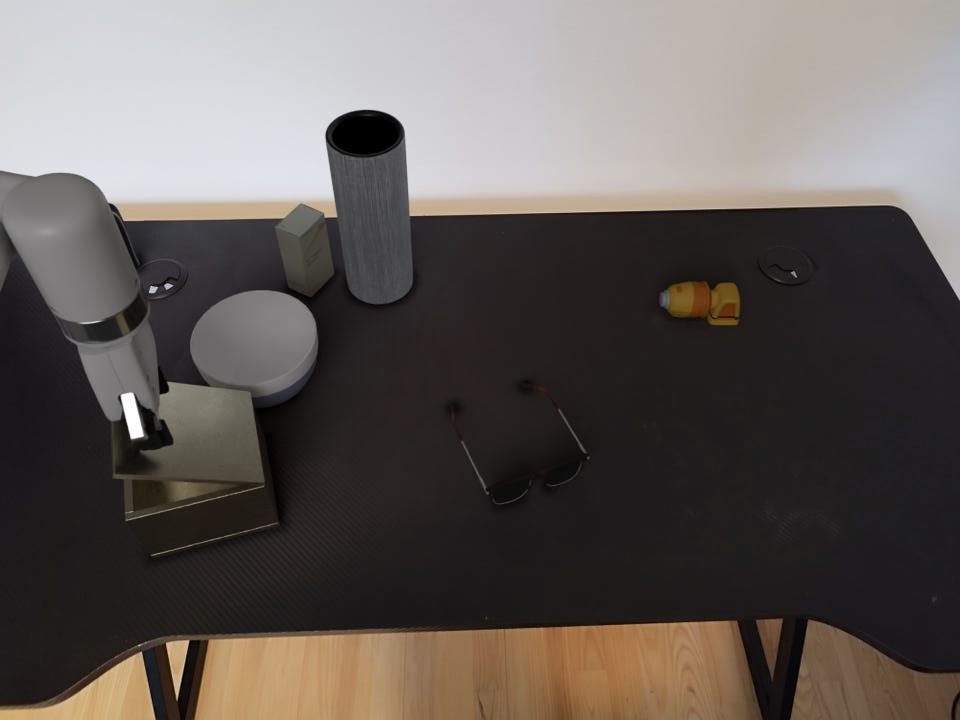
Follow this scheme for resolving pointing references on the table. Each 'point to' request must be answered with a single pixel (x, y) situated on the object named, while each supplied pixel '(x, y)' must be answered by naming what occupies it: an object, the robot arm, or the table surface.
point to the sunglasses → (520, 484)
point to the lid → (195, 440)
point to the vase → (372, 203)
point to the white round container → (257, 345)
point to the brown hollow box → (199, 510)
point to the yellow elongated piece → (702, 301)
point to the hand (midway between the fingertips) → (155, 418)
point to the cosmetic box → (305, 249)
